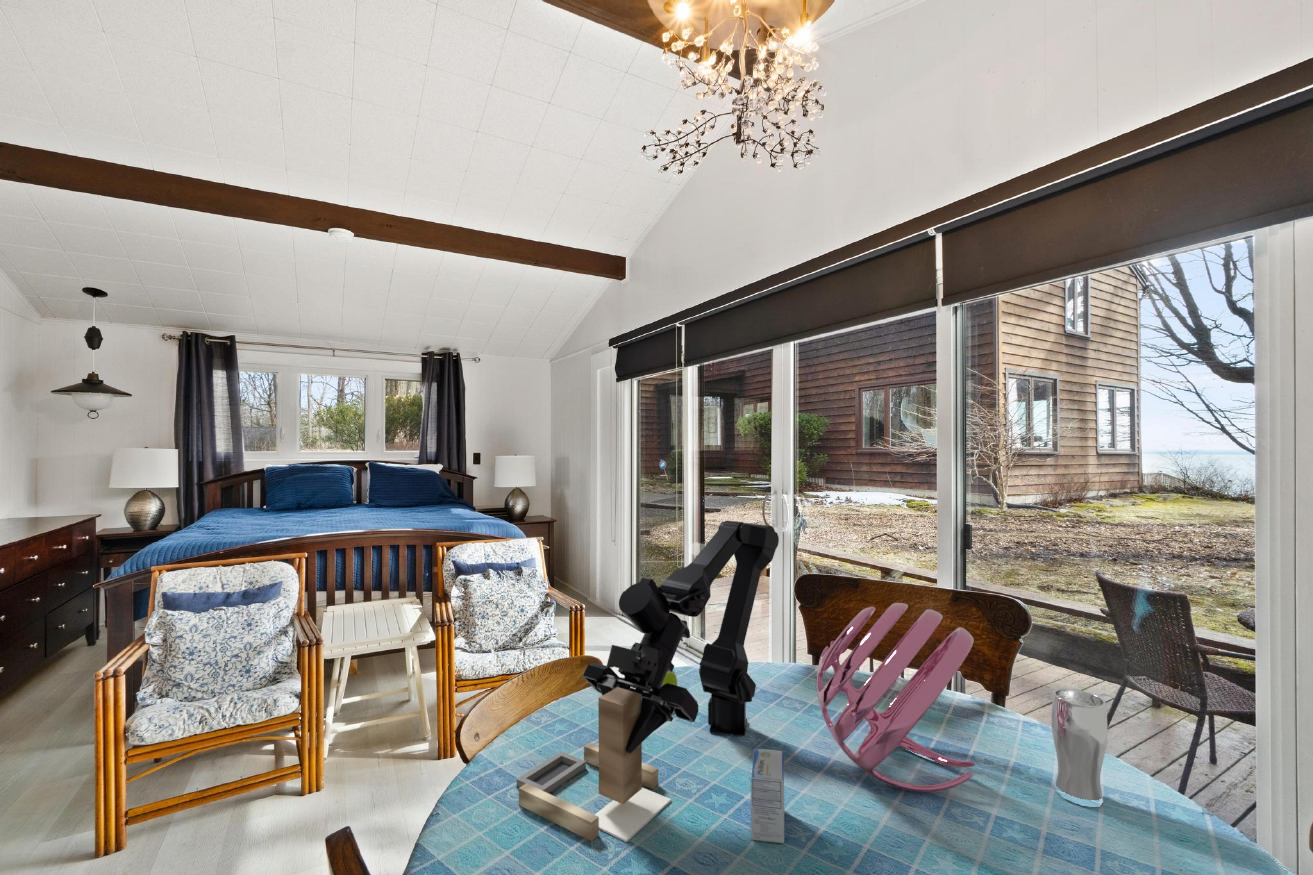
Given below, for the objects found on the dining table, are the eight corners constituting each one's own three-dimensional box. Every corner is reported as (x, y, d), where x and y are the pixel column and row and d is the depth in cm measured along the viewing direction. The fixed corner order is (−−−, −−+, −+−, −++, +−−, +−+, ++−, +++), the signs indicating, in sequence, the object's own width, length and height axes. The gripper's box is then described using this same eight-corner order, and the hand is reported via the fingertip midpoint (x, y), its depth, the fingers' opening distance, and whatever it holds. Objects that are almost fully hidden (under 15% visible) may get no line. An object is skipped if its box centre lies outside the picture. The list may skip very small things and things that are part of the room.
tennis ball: (636, 698, 124) (636, 665, 124) (660, 689, 129) (661, 656, 129) (659, 710, 119) (659, 675, 119) (683, 699, 124) (684, 666, 124)
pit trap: (516, 786, 93) (516, 779, 93) (561, 758, 101) (561, 751, 101) (542, 798, 90) (542, 790, 90) (586, 768, 98) (586, 761, 98)
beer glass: (1097, 787, 93) (1097, 691, 93) (1115, 814, 86) (1115, 710, 86) (1045, 779, 95) (1045, 684, 95) (1059, 804, 89) (1059, 703, 89)
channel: (518, 805, 88) (518, 788, 88) (589, 757, 101) (589, 742, 101) (591, 841, 80) (591, 822, 80) (658, 784, 93) (658, 768, 93)
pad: (586, 823, 84) (586, 821, 84) (633, 785, 93) (633, 783, 93) (626, 842, 80) (626, 839, 80) (670, 801, 89) (670, 799, 89)
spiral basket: (1060, 659, 94) (907, 547, 106) (1019, 772, 74) (837, 618, 87) (960, 750, 109) (836, 643, 121) (904, 864, 89) (763, 722, 102)
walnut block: (617, 778, 91) (617, 686, 91) (641, 788, 88) (641, 694, 88) (598, 793, 87) (598, 697, 87) (623, 804, 85) (622, 705, 84)
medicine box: (784, 845, 80) (784, 780, 80) (750, 840, 80) (750, 776, 80) (783, 809, 87) (784, 750, 87) (752, 805, 88) (753, 746, 88)
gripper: (589, 611, 96) (539, 705, 87) (688, 633, 86) (643, 743, 76) (619, 646, 103) (576, 737, 94) (715, 670, 92) (676, 775, 83)
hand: (614, 746), depth 86 cm, fingers closed on walnut block, 4 cm apart
